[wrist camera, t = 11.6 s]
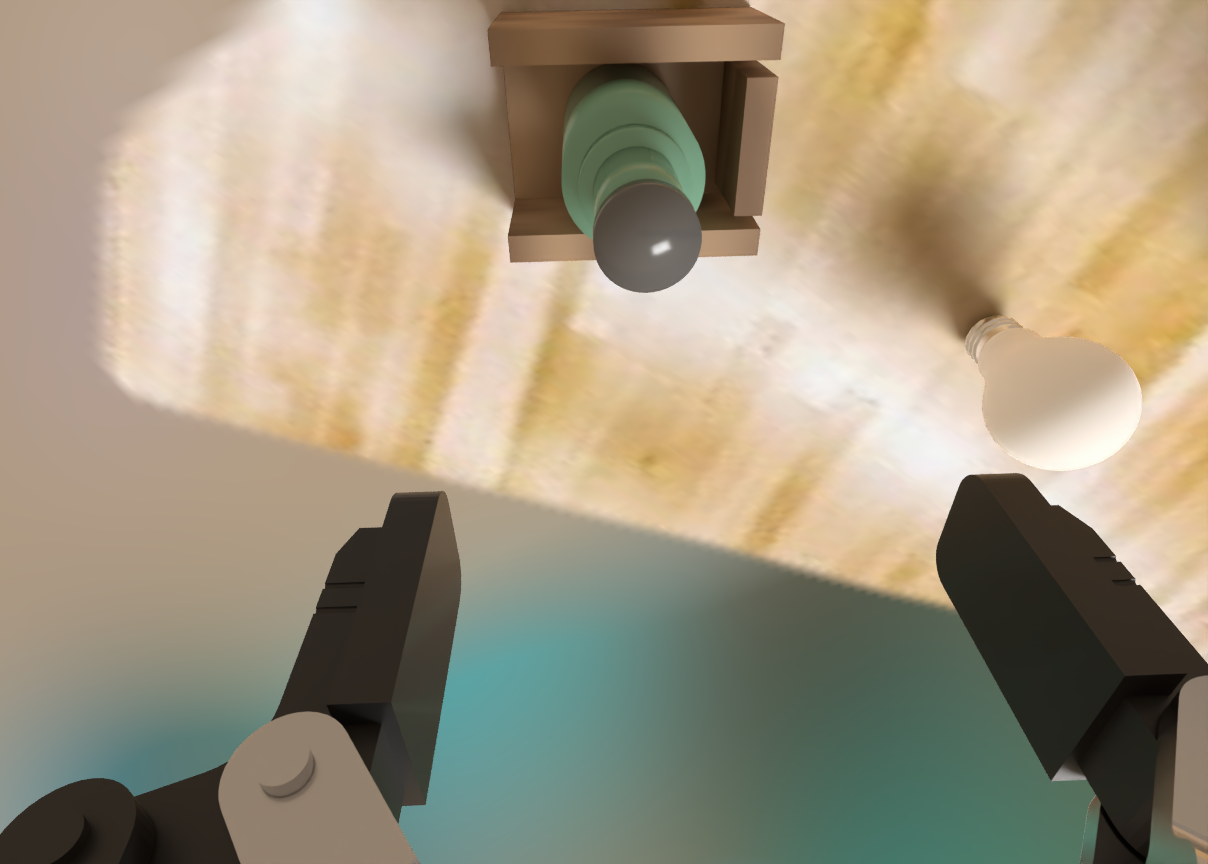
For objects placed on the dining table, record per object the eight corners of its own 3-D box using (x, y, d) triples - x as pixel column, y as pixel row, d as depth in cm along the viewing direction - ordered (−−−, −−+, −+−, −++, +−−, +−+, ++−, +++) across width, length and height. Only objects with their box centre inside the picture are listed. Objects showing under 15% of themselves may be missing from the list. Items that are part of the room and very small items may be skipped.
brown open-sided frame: (751, 7, 31) (784, 23, 26) (732, 210, 36) (757, 255, 31) (500, 12, 31) (487, 29, 26) (518, 216, 36) (510, 262, 31)
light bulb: (920, 302, 40) (1020, 412, 31) (1043, 259, 38) (1184, 361, 30) (932, 393, 43) (1024, 514, 35) (1044, 357, 42) (1170, 473, 33)
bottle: (678, 59, 31) (744, 147, 19) (673, 179, 34) (727, 319, 22) (560, 62, 31) (554, 152, 19) (566, 182, 34) (563, 324, 22)
